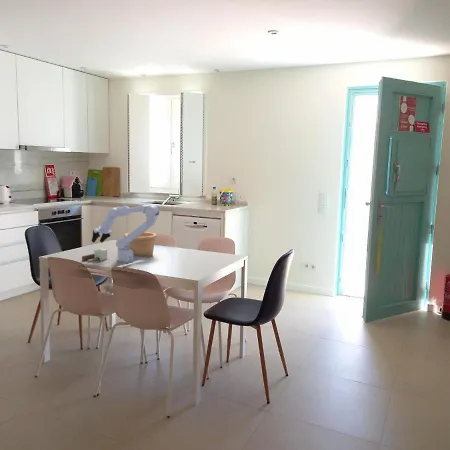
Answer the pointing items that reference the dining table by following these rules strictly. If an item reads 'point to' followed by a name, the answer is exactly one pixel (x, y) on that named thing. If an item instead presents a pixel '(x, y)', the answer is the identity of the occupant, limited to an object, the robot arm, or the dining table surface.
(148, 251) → the pottery
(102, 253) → the sage block
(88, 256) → the cleat board
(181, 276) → the dining table surface
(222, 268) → the dining table surface
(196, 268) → the dining table surface
